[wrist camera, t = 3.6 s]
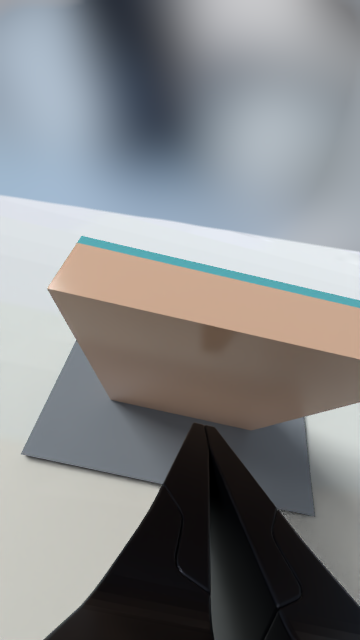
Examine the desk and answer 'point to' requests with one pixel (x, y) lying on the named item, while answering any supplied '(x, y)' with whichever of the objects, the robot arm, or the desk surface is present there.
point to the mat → (158, 438)
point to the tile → (208, 337)
